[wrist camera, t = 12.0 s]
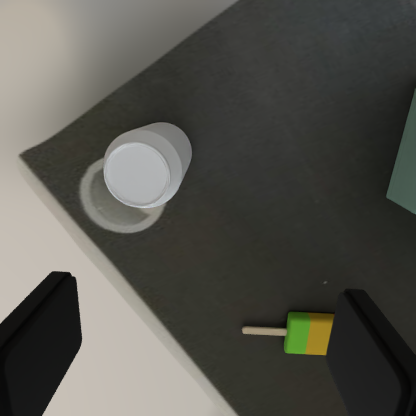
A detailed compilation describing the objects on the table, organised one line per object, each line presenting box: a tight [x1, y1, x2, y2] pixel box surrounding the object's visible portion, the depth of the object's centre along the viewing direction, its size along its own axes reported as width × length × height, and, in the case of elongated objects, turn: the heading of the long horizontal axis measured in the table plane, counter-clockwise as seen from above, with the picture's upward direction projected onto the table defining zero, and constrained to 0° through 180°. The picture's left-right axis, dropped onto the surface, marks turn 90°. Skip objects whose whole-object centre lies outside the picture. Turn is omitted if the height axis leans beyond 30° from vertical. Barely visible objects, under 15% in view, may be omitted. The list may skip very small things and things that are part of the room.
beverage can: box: [103, 122, 192, 208], centre depth 28 cm, size 6×6×12 cm
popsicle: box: [242, 312, 334, 355], centre depth 40 cm, size 6×15×2 cm, turn 88°
